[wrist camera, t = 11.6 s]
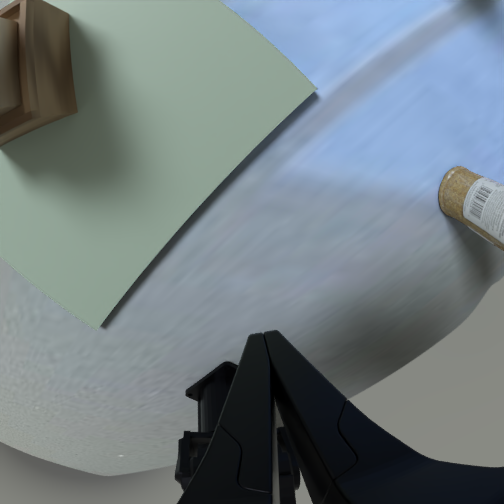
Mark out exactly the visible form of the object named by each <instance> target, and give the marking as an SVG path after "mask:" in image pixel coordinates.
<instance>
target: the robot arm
mask: <svg viewBox="0 0 504 504" xmlns="http://www.w3.org/2000/svg"><path fill="white" fill-rule="evenodd" d="M186 396H187V397H189V398H191V399H193V400H196V401H198V432H190V431H184V437H183V438H182V439H179V448H178V460H177V465H176V470H175V480H176V481H177V482H179V483H180V484H181V487H182V489H183V491H184V493H183V494H182V496H181V498H180V500H179V501H178V503H177V504H296V498H295V490H298V489H299V486H300V471H301V473H302V476H303V479H304V482H305V484H306V487H307V489H308V492H309V495H310V497H311V500H312V503H313V504H504V467H482V466H472V465H464V464H457V463H450V462H444V461H438V460H434V459H431V458H428V457H426V456H424V455H422V454H420V453H418V452H416V451H415V450H413V449H412V448H410V447H409V446H407V445H406V444H404V443H403V442H401V441H400V440H398V439H397V438H395V437H394V436H392V435H391V434H389V433H388V432H387V431H385V430H384V429H382V428H381V427H380V426H378V425H377V424H376V423H374V422H373V421H371V420H370V419H369V418H368V417H367V416H366V415H364V414H363V413H362V412H361V411H360V410H359V409H358V408H356V407H355V406H354V405H353V404H352V403H351V402H350V401H349V400H347V398H346V397H345V396H344V395H343V394H342V393H341V392H340V391H338V390H337V389H336V388H335V387H334V386H333V385H332V384H331V383H330V382H329V381H328V380H327V379H326V378H325V377H324V376H323V375H322V374H321V373H320V372H319V371H318V370H317V369H316V368H315V367H314V366H313V365H312V364H311V363H310V362H309V361H308V360H307V359H306V358H305V357H304V356H303V355H302V354H301V353H300V352H299V351H298V350H297V349H296V348H295V347H294V346H293V345H292V344H291V343H290V342H289V341H288V340H287V339H286V338H285V337H284V336H283V335H282V334H281V333H280V332H279V331H277V330H273V331H267V332H264V335H263V333H255V334H250V335H249V337H248V339H247V342H246V345H245V348H244V351H243V354H242V357H241V360H240V362H239V365H238V367H237V366H236V365H234V364H232V363H230V362H223V363H222V364H220V365H219V366H218V367H217V368H215V369H214V370H213V371H211V372H210V373H209V374H207V375H206V376H205V377H203V378H202V379H201V380H199V381H198V382H197V383H195V384H194V385H192V386H191V387H190V388H188V389H187V390H186ZM274 397H275V399H274ZM346 400H347V401H346ZM275 401H276V404H277V407H278V410H279V413H280V415H281V418H282V421H283V424H284V427H278V428H276V413H275ZM299 468H300V469H299Z"/></svg>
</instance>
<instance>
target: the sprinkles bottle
mask: <svg viewBox="0 0 504 504" xmlns="http://www.w3.org/2000/svg"><path fill="white" fill-rule="evenodd" d="M439 203H440V207H441V209H442V211H443V212H444V213H445V214H446V215H448V216H450V217H454V218H455V219H457V220H458V221H460V222H461V223H463V224H465V225H466V226H468V227H469V229H471V230H472V231H474V232H475V233H477V234H478V235H480V236H481V237H482V238H484V239H485V240H487V241H488V242H490V243H491V244H493V245H494V246H497V247H498V248H500V249H501V250H503V251H504V185H502V184H500V183H498V182H496V181H494V180H491V179H489V178H485V177H483V176H480V175H478V174H475V173H473V172H471V171H469V170H468V169H467V168H464V167H462V166H457V167H454V168H452V169H451V170H449V171H448V172H447V173H446V175H445V176H444V178H443V180H442V182H441V185H440V189H439Z"/></svg>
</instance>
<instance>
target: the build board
mask: <svg viewBox="0 0 504 504" xmlns="http://www.w3.org/2000/svg"><path fill="white" fill-rule="evenodd" d="M13 1H15V0H11V1H10V3H12V2H13ZM43 1H45V2H47V3H49V4H51V5H53V6H55V7H57V8H59V9H61V10H63V11H65V12H67V13H68V14H69V33H70V50H71V62H72V72H73V81H74V89H75V97H76V104H77V110H78V113H75V114H72V115H70V116H67V117H64V118H62V119H59V120H57V121H54V122H52V123H50V124H47V125H45V126H42V127H40V128H38V129H36V130H33V131H31V132H29V133H27V134H25V135H23V136H21V137H18V138H16V139H14V140H12V141H10V142H8V143H6V144H5V145H3V146H1V147H0V257H1V258H2V259H3V260H4V261H6V262H7V263H8V264H9V265H10V266H11V267H12V268H13V269H15V270H16V271H17V272H18V273H19V274H20V275H22V276H23V277H24V278H25V279H26V280H28V281H29V282H30V283H31V284H33V285H34V286H35V287H36V288H38V289H39V290H40V291H41V292H43V293H44V294H45V295H47V296H48V297H49V298H50V299H52V300H53V301H54V302H56V303H57V304H58V305H60V306H61V307H63V308H64V309H65V310H67V311H68V312H69V313H71V314H72V315H74V316H75V317H77V318H78V319H79V320H81V321H82V322H84V323H85V324H87V325H88V326H90V327H91V328H93V329H94V330H96V331H97V329H98V328H99V327H100V325H101V324H102V323H103V321H104V320H105V319H106V317H107V316H108V315H109V313H110V312H111V311H112V309H113V308H114V307H115V306H116V304H117V303H118V302H119V300H120V299H121V298H122V297H123V295H124V294H125V293H126V292H127V290H128V289H129V288H130V287H131V285H132V284H133V283H134V282H135V280H136V279H137V278H138V277H139V275H140V274H141V273H142V272H143V271H144V269H145V268H146V267H147V266H148V265H149V263H150V262H151V261H152V260H153V259H154V257H155V256H156V255H157V254H158V253H159V251H160V250H161V249H162V248H163V247H164V246H165V244H166V243H167V242H168V241H169V240H170V239H171V237H172V236H173V235H174V234H175V233H176V232H177V231H178V229H179V228H180V227H181V226H182V225H183V224H184V223H185V221H186V220H187V219H188V218H189V217H190V216H191V215H192V214H193V213H194V211H195V210H196V209H197V208H198V207H199V206H200V205H201V204H202V203H203V202H204V200H205V199H206V198H207V197H208V196H209V195H210V194H211V193H212V192H213V191H214V190H215V189H216V187H217V186H218V185H219V184H220V183H221V182H222V181H223V180H224V179H225V178H226V177H227V176H228V175H229V174H230V173H231V172H232V171H233V170H234V169H235V168H236V166H237V165H238V164H239V163H240V162H241V161H242V160H243V159H244V158H245V157H246V156H247V155H248V154H249V153H250V152H251V151H252V150H253V149H254V148H255V147H256V146H257V145H258V144H259V143H260V142H261V141H262V140H263V139H264V138H265V137H266V136H267V135H268V134H269V133H270V132H271V131H272V130H273V129H274V128H276V127H277V126H278V125H279V124H280V123H281V122H282V121H283V120H284V119H285V118H286V117H287V116H288V115H289V114H290V113H291V112H292V111H293V110H294V109H296V108H297V107H298V106H299V105H300V104H301V103H302V102H303V101H304V100H305V99H306V98H307V97H309V96H310V95H311V94H312V93H313V92H314V91H315V90H316V89H317V88H316V87H315V86H314V85H313V84H312V83H311V82H310V80H309V79H308V78H307V77H306V76H305V75H304V74H303V73H302V72H301V71H300V70H299V69H298V68H297V67H296V66H295V65H294V64H293V63H292V62H291V61H290V60H289V59H288V58H287V57H286V56H284V55H283V54H282V53H281V52H280V51H279V50H278V49H277V48H276V47H275V46H274V45H273V44H272V43H270V42H269V41H268V40H267V39H266V38H265V37H264V36H263V35H261V34H260V33H259V32H258V31H257V30H256V29H255V28H253V27H252V26H251V25H250V24H249V23H247V22H246V21H245V20H244V19H242V18H241V17H240V16H239V15H238V14H236V13H235V12H234V11H232V10H231V9H230V8H229V7H227V6H226V5H225V4H223V3H222V2H221V1H219V0H43ZM10 3H9V4H10Z"/></svg>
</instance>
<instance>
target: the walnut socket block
mask: <svg viewBox="0 0 504 504" xmlns="http://www.w3.org/2000/svg"><path fill="white" fill-rule="evenodd" d="M0 17H1V18H5V19H9V20H12V21H16V22H17V59H18V75H19V87H20V96H21V104H22V105H20V106H18V107H17V108H15V109H13V110H11V111H9V112H8V113H6V114H4V115H2V116H1V117H0V147H1V146H3V145H5V144H6V143H8V142H10V141H12V140H14V139H16V138H18V137H21V136H23V135H25V134H27V133H29V132H31V131H33V130H36V129H38V128H40V127H42V126H45V125H47V124H50V123H52V122H54V121H57V120H59V119H62V118H64V117H67V116H70V115H72V114H75V113H78V110H77V104H76V97H75V89H74V81H73V72H72V62H71V50H70V33H69V14H68V13H67V12H65V11H63V10H61V9H59V8H57V7H55V6H53V5H51V4H49V3H47V2H45V1H43V0H15V1H13V2H12V3H10V4H8V5H7V6H5V7H4V8H2V9H1V10H0Z"/></svg>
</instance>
